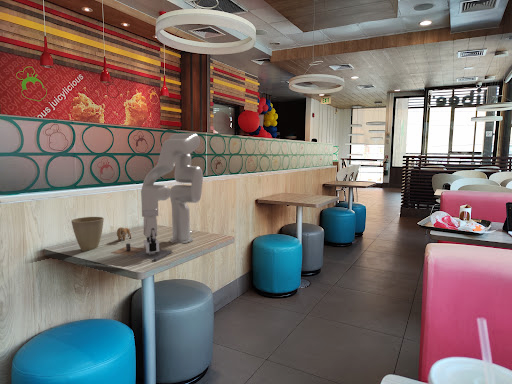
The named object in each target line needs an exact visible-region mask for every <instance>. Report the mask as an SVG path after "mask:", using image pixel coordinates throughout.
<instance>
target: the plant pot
mask: <svg viewBox="0 0 512 384" xmlns="http://www.w3.org/2000/svg"><path fill="white" fill-rule="evenodd" d="M104 219H105V218H104V217H102V216H84V217H78V218H73V219H71V226H72V229H73V230H72V231H73V233H74V236H75V240H76V242H77V243H78V246H79V248H80V250H81V251H82V252H87V251H91V250H95V249H97V248H98V247H99V244H100V241H101V239H102V234H103V227H104Z"/></svg>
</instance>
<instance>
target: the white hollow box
mask: <svg viewBox="0 0 512 384" xmlns="http://www.w3.org/2000/svg"><path fill="white" fill-rule="evenodd" d="M149 243H150V239H149V240H147V239H144V240H143V248H144V250H143V251H145V252H146V253H152V252H150V251H149ZM156 248H157V251H153V252H159V250H160V240H158V239H157V238H156Z"/></svg>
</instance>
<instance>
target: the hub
mask: <svg viewBox="0 0 512 384" xmlns="http://www.w3.org/2000/svg"><path fill="white" fill-rule="evenodd" d="M172 253H173V250H169V249H168V250H165V249H159V252H152V253H146V252H145V251H144V250H142V251H140V252H137V253H135V254H133V255H130V257H131V258H137V259H138V258H139V259H150V260H151V262H158V261H159V260H161V259H163V258H165V257H167V256H169V255H171V254H172Z"/></svg>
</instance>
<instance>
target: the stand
mask: <svg viewBox="0 0 512 384" xmlns="http://www.w3.org/2000/svg"><path fill="white" fill-rule="evenodd" d="M141 251H144V247H135V246H131V243H130V242H129V243H126V244H125V246H124V247H122V248H120V249H117V250H114V251H112V252H111V254H114V255H115V254H116V255H125V256H133V255H135V254H137V253H139V252H141Z"/></svg>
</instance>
